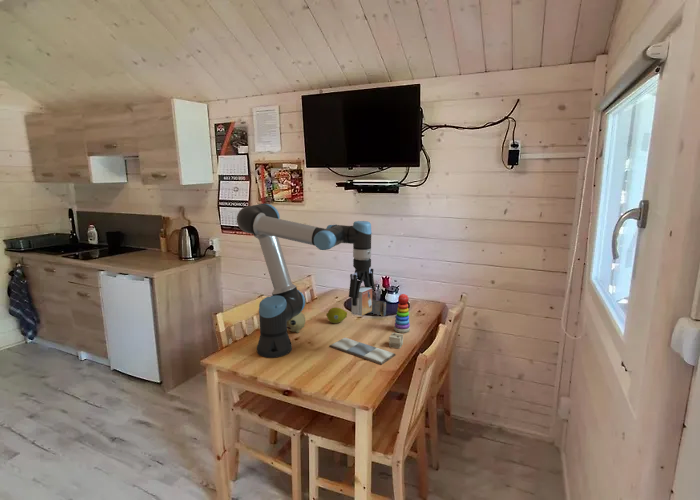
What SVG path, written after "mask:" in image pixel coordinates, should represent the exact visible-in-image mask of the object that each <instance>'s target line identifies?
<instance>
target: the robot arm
mask: <svg viewBox="0 0 700 500" xmlns="http://www.w3.org/2000/svg"><path fill="white" fill-rule="evenodd" d="M236 224H237V226H238V227H239V229H240V230H241V231H243V232H244V233H247V234H250V235H253V237H254V238H256V239H257V240H258V242H259V245H260V249H261V251H262V255H263V258H264V260H265V264H266V267H267V268H266V269H267V271H268V274H269V277H270V280H271V284H272V286H273V287H272V288H273V290H272V292H271V295H270V296H267V297H264V298H263V299H262V300H261V301H260V302H259V304H258V315H259V317H258V318H259V333H260V335H259V339H258V342H257V345H256V352H257V353H256V354H257V355H259V356H261V357H264V358H270V359H271V358H279V357H283V356H286V355H288V354H290V353H291V351H293V350H292V347H293V345H292V342H291V338H290V336H289V334H288V330H287V321H289V320H290V319H292V318H293V317H295V316H297V315H298V314H299V313H300V312H302V311H303V310H304V308H305V306H306V298H305V296H304V294H303V292H301V290H299V289H298V287H297V285H295V284H294V283H293V282H292V280H291V279H292V278H291V276H290V273H289V268H288V266H287V262H286V259H285V256H284V253H283V250H282V247H281V243H280V240H279V239H285V240H289V241H294V242H297V243H302V244H306V245H311V246H314V247H316V248H317V249H318V250H320V251H327V250H330V249H333V248H335V246H338V245H340V244H348V245H349V244H351V245H353V247H352V248H353V249H352V257H353V260H352V262H353V264H352V266H353V268H354V269H355V270H354V273H350V275H349V278H350V281H349V291H348V297H349V298H350V299H351V306H352V305H353V312H355V313H359V298H358V294H359V290H360V287H361V286H362V283H363V284H364V285H363V286H364V287H369V288H372V294H374V290H375V282H374V281H375V280H374V268H371V267H372V259H371V258H372V235H373V233H372V223H371V222H369V221H366V220H357V221H353V223H352V224H353V225H345V224H344V225H343V224H329V225H327V226H326V228H323V227H320V226H319V227H318V226H314V225H311V224H305V223H299V222H296V221H291V220H286V219H281V218H280V213H279V211H278V209H277V208H276V207H275V206H274V205H272V204H269V203H259V204H253V205H248V206H244V207H243V208H241V209H240V210H239V211H238V212H237V215H236Z"/></svg>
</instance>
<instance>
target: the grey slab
mask: <svg viewBox="0 0 700 500" xmlns="http://www.w3.org/2000/svg"><path fill="white" fill-rule="evenodd" d="M369 313H373V314H372V315H374V314H377V315H376V316H379V315H381V316H380V317H385V316H386V315H387V302H386V301H381V300H375V299H372V311H371V312H369ZM369 313H368V314H369Z"/></svg>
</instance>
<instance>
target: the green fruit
mask: <svg viewBox="0 0 700 500" xmlns="http://www.w3.org/2000/svg"><path fill="white" fill-rule="evenodd" d="M347 316H348V312H347V311H346V310H344V309H343V308H340V307H332V308H330V309H329V310H328V311H327V313H326V317H327V319H328V321H329V322H330V323H332V324H339V323H342V322H343V321H345V319H346V318H347Z"/></svg>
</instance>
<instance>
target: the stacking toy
mask: <svg viewBox="0 0 700 500" xmlns="http://www.w3.org/2000/svg"><path fill="white" fill-rule="evenodd" d="M397 299H398V300H397V301H398V304H397V309H396V310H397V311H396V315H395V318H394V319H395V320H394V327H393V330H394V331H395V332H396V333H398V334H404V333H405V334H406V333H408V332H410V331H411V327H410V326H411V323H410V316H409V315H410V313H409V304H408V302H409V296H408V295H407V294H405V293H401V294H399V296H398V297H397Z"/></svg>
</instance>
